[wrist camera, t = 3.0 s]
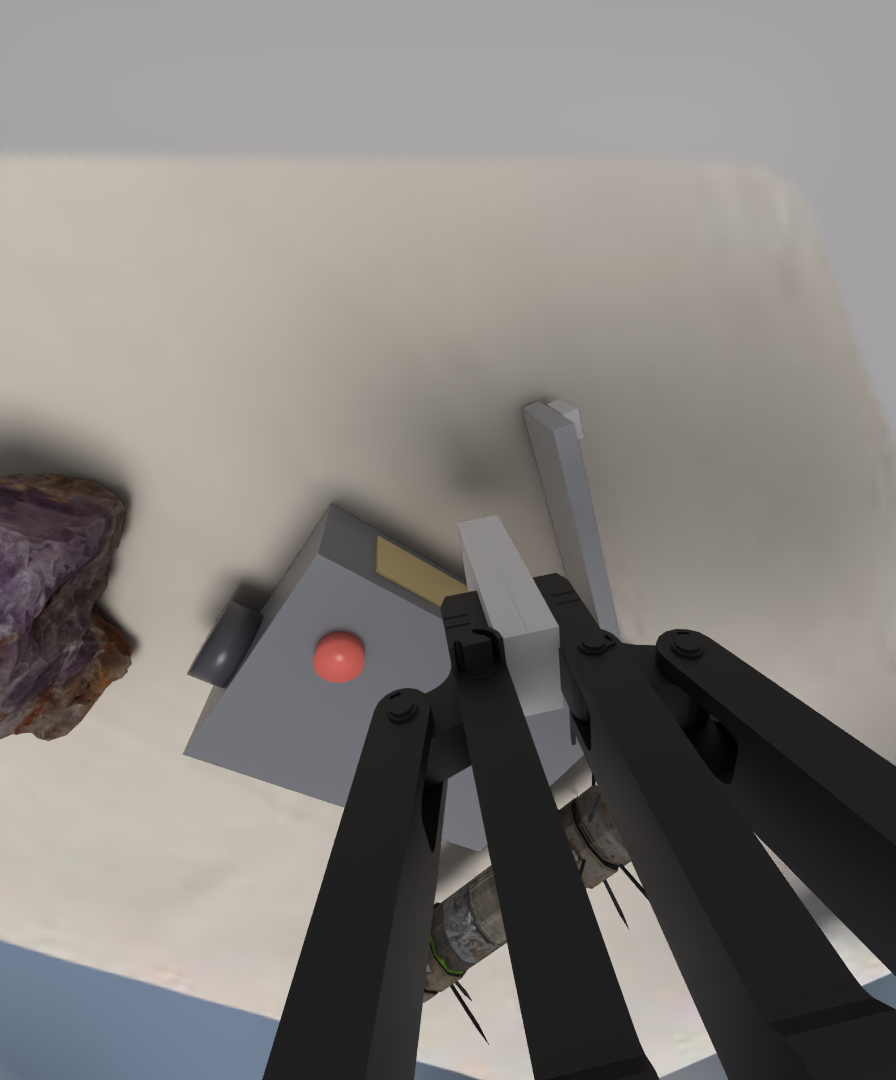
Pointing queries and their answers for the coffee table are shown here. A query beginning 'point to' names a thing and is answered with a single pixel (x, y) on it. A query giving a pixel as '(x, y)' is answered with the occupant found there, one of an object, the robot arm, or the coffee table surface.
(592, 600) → the side door
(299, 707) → the camera body
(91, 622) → the rock
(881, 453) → the coffee table surface
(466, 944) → the bomb
